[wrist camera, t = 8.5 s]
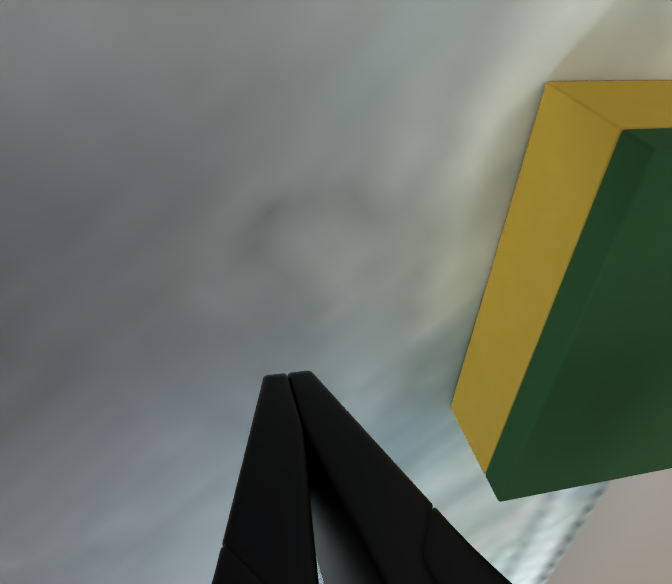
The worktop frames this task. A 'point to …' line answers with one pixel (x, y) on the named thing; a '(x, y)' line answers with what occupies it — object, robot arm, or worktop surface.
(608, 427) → the sponge
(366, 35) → the worktop surface
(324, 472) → the robot arm
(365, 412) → the worktop surface
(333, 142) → the worktop surface
